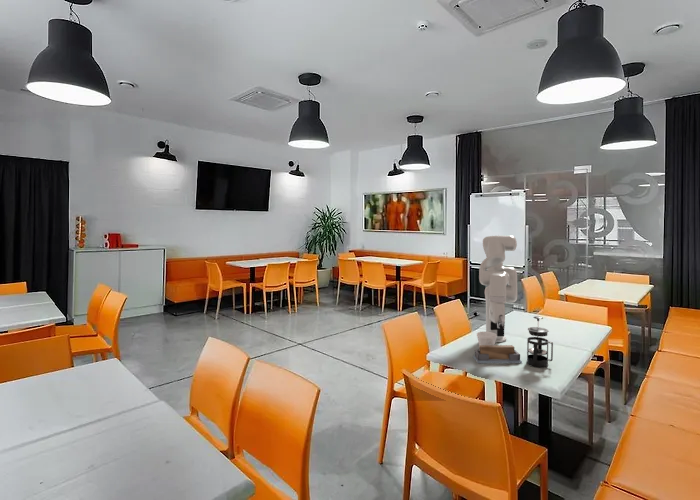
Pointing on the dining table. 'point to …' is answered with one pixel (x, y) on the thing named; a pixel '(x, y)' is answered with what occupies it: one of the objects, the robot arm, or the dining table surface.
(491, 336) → the cup
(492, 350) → the slat
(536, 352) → the french press
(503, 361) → the cradle
